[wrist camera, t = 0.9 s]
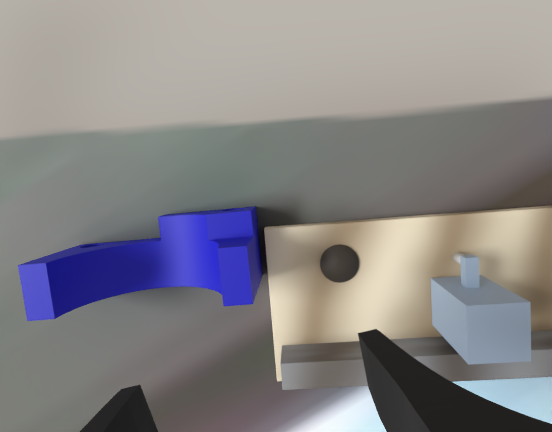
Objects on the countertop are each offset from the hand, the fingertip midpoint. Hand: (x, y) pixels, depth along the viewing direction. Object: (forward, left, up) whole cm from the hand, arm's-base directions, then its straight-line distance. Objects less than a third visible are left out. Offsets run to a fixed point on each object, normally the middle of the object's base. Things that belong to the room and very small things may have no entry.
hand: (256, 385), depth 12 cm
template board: (-8, -7, -13) cm, 17 cm away
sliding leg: (-8, -7, -12) cm, 16 cm away
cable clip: (+6, +4, -13) cm, 15 cm away
